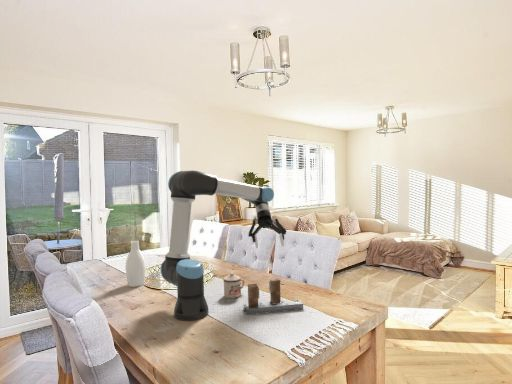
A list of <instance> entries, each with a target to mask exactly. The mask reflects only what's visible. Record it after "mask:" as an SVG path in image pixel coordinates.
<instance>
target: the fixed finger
mask: <svg viewBox="0 0 512 384" xmlns="http://www.w3.org/2000/svg"><path fill="white" fill-rule="evenodd" d="M259 299H260V288H259V286H258V284H257V283H249V284H247V300H248V302H247V303H248V305H247V306H257V305H259Z"/></svg>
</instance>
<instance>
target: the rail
mask: <svg viewBox="0 0 512 384" xmlns="http://www.w3.org/2000/svg"><path fill="white" fill-rule="evenodd" d="M295 309H299V310H303V309H304V303H303V302H302V301H301V299H298V298H297V299H296V301H293V302H292V301H290V302H285V301H284V300H281V303H275V304H272V303H271V304H270V303H269V304H264V303H263V302H259V304H258V305H257V306H248V305H247V304H244V303H243V310H244V312H245V314H246V315H248V314H249V315H257V314H256V313H259V314H267V313H266V312H269V313H276V312H275V311H279V312H284V311H283V310H289V311H296V310H295Z"/></svg>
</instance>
